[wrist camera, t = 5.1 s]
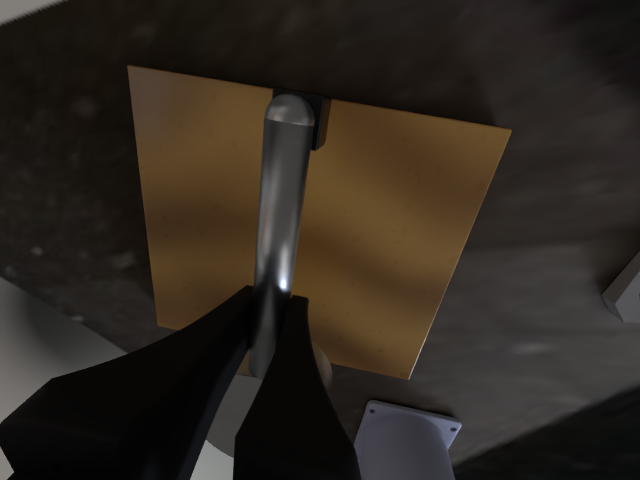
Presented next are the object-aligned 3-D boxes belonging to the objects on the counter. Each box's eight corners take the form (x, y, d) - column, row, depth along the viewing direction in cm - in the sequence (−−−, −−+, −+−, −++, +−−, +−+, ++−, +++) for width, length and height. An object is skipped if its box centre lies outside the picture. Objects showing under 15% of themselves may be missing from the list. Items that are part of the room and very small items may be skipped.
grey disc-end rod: (322, 419, 17) (313, 482, 14) (220, 392, 18) (191, 448, 15) (401, 109, 10) (415, 109, 7) (222, 78, 10) (165, 67, 7)
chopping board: (406, 364, 23) (409, 380, 22) (168, 314, 24) (157, 326, 23) (500, 127, 15) (513, 129, 14) (145, 67, 16) (125, 64, 15)
